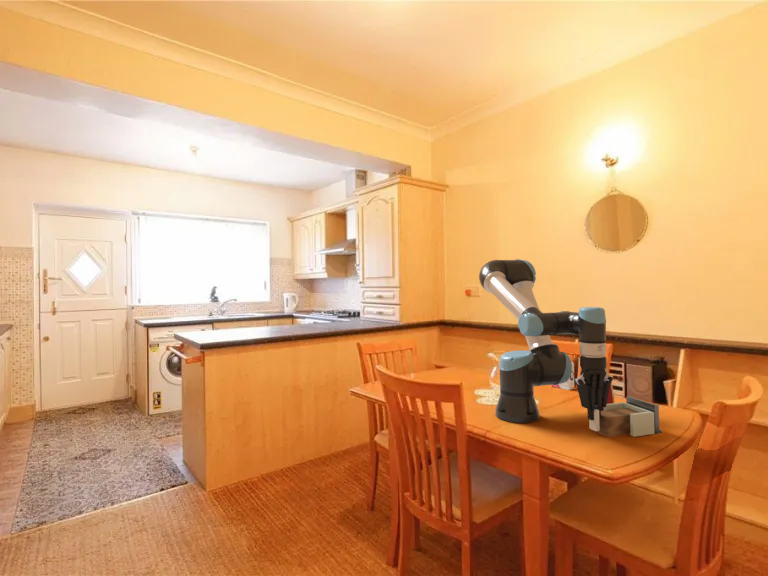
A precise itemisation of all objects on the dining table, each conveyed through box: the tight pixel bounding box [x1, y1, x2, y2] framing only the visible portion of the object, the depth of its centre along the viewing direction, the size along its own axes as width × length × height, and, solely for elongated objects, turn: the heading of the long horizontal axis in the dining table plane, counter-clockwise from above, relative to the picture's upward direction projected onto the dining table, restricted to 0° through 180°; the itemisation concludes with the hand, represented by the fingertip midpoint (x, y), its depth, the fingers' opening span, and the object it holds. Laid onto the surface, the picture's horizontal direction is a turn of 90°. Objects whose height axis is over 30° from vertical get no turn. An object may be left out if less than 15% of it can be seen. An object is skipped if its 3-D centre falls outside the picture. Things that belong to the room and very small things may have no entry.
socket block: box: [604, 401, 655, 438], centre depth 133 cm, size 8×12×7 cm
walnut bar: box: [592, 408, 640, 438], centre depth 131 cm, size 14×6×6 cm, turn 103°
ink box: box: [551, 362, 575, 391], centre depth 187 cm, size 8×5×12 cm, turn 36°
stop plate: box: [625, 395, 663, 435], centre depth 134 cm, size 2×11×9 cm, turn 14°
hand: (594, 429), depth 129 cm, fingers closed
